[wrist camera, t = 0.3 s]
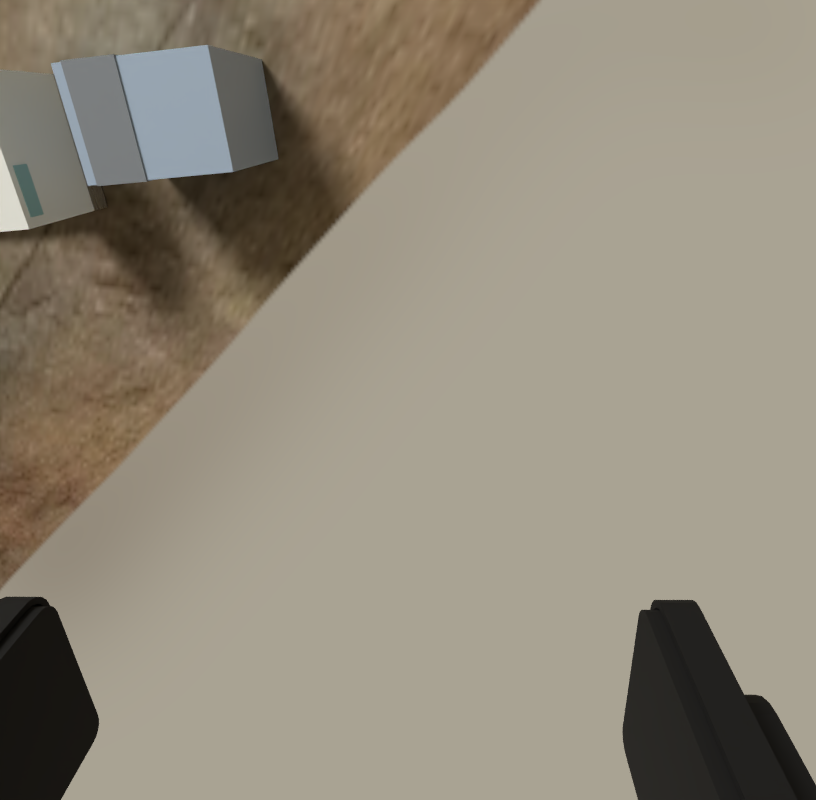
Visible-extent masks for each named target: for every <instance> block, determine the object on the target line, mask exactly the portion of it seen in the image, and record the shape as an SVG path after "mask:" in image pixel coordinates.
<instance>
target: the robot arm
mask: <svg viewBox="0 0 816 800" xmlns="http://www.w3.org/2000/svg"><path fill="white" fill-rule="evenodd" d="M98 726H99V718H98V714H97V712H96V709H95V707H94V704H93V701H92V699H91V696H90V694H89V691H88V689H87V686H86V684H85V681H84V678H83V676H82V673H81V671H80V668H79V666H78V663H77V661H76V658H75V655H74V653H73V650H72V648H71V645H70V643H69V640H68V638H67V635H66V633H65V630H64V628H63V625H62V622H61V620H60V618H59V615H58V612H57V611H56V609H55V608H54V607H52V606H50V605H49V603H48V602H47V600H46V599H44V598H42V597H5V598H2V599H0V800H61V798H62V797H63V795H64V793H65V791H66V789H67V788H68V786H69V784H70V782H71V781H72V779H73V777H74V775H75V774H76V772H77V770H78V768H79V767H80V765H81V763H82V761H83V760H84V758H85V756H86V754H87V753H88V751H89V749H90V747H91V746H92V744H93V742H94V739H95V738H96V735H97V731H98ZM623 743H624V749H625V753H626V757H627V761H628V764H629V768H630V772H631V776H632V779H633V783H634V786H635V790H636V793H637V797H638V800H816V785H815V783H814V781H813V779H812V777H811V776H810V774H809V772H808V770H807V768H806V766H805V765H804V763H803V761H802V759H801V757H800V756H799V754H798V752H797V750H796V748H795V746H794V745H793V743H792V741H791V739H790V737H789V735H788V734H787V732H786V730H785V728H784V727H783V724H782V723H781V721H780V719H779V717H778V716H777V714H776V712H775V711H774V709H773V708H772V706H771V705H770V703H769V702H768V701H767V700H765V699H764V698H763V697H762V696H758V695H744V694H743V692H742V690H741V688H740V686H739V684H738V682H737V680H736V678H735V676H734V674H733V672H732V670H731V668H730V666H729V664H728V662H727V660H726V658H725V656H724V654H723V653H722V650H721V649H720V647H719V645H718V643H717V641H716V639H715V637H714V635H713V633H712V631H711V629H710V627H709V625H708V623H707V621H706V620H705V617H704V615H703V613H702V611H701V610H700V608H699V606H698V605H697V603H696V602H695V601H693V600H654V601H653V602H652V605H651V609H650V610H641V611H640V613H639V618H638V625H637V632H636V639H635V646H634V653H633V660H632V667H631V674H630V681H629V688H628V695H627V702H626V708H625V716H624V722H623Z"/></svg>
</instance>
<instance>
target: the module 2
mask: <svg viewBox="0 0 816 800" xmlns="http://www.w3.org/2000/svg"><path fill="white" fill-rule="evenodd" d="M51 65H52V69H53V72H54V75H55V79H56V82H57V85H58V89H59V92H60V95H61V98H62V102H63V105H64V108H65V112H66V115H67V118H68V122H69V125H70V128H71V132H72V135H73V138H74V142H75V145H76V148H77V151H78V155H79V158H80V161H81V165H82V168H83V171H84V175H85V178H86V181H87V185H88V186H91V185H97V186H105V185H115V184H126V183H136V182H147V181H151V180H154V179H165V178H175V177H186V176H196V175H206V174H217V173H227V172H235V171H238V170H242V169H245V168H249V167H253V166H256V165H260V164H263V163H267V162H270V161H274V160H277V159H279V158H278V152H277V146H276V141H275V135H274V129H273V123H272V117H271V111H270V106H269V100H268V94H267V88H266V82H265V76H264V71H263V65H262V59H258V58H255V57H251V56H247V55H243V54H240V53H236V52H232V51H228V50H225V49H221V48H217V47H213V46H210V45H203V46H195V47H186V48H178V49H169V50H160V51H152V52H143V53H135V54H126V55H114V54H112V55H103V56H95V57H86V58H78V59H69V60H61V61H60V62H58V63H51Z"/></svg>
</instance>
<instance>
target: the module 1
mask: <svg viewBox="0 0 816 800" xmlns="http://www.w3.org/2000/svg"><path fill="white" fill-rule="evenodd" d="M92 211H94V208H93V204H92V201H91V198H90V195H89V191H88V188H87V185H86V181H85V178H84V175H83V171H82V168H81V165H80V162H79V158H78V155H77V152H76V148H75V145H74V142H73V139H72V135H71V132H70V129H69V125H68V122H67V119H66V115H65V112H64V109H63V106H62V102H61V99H60V96H59V92H58V89H57V86H56V82H55V79H54V76H53V74H46V73H34V72H23V71H12V70H0V232H5V231H16V230H27V229H32V228H36V227H39V226H43V225H46V224H50V223H53V222H57V221H60V220H64V219H67V218H71V217H74V216H78V215H81V214H85V213H88V212H92Z"/></svg>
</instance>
